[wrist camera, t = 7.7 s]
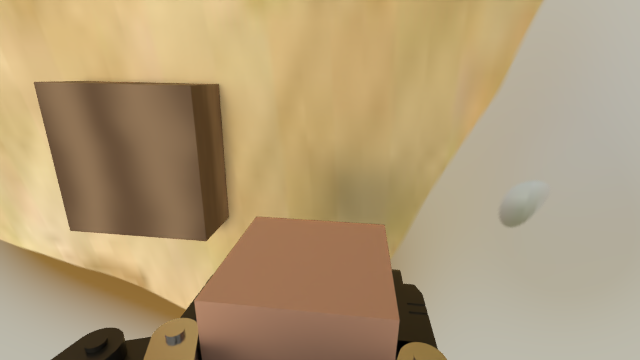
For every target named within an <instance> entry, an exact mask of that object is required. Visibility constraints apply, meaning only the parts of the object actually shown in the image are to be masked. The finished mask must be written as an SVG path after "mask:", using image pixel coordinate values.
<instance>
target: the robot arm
mask: <svg viewBox="0 0 640 360" xmlns="http://www.w3.org/2000/svg"><path fill="white" fill-rule="evenodd" d="M392 275H393V282H394V288H395V294H396V301H397V307H398V313H399V320H400V321H399V330H398V339H397V348H396V357H395V360H447V359H446V358H445V356H444V355H443V354H442V353H441V352H440V351H439V350H438V348H437V345H436V342H435V338H434V334H433V331H432V327H431V324H430V320H429V316H428V314H427V309H426V307H425V302H424V298H423V295H422V293H421V292H420V291H419V290H418V289H417V287H416V286H415V285H411V284H403V281H402V276H401V272H400V270H393V269H392ZM212 276H213V275H212ZM212 276H211V277H212ZM211 277H210V278H211ZM209 280H210V279H209ZM209 280H208V281H209ZM208 281H207V282H208ZM206 284H207V283H206ZM203 288H204V287H203ZM203 288H202V289H203ZM200 292H201V291H200ZM198 295H199V294H198ZM198 295H197V296H198ZM197 296H196V297H197ZM195 299H196V298H195ZM195 299H194V300H195ZM194 300H193V302H192V303H191V304H190V306H189V307H188V308H187V310H186V311H185V312H184V314H183V315H182V316H181V318H178V319H174V320H171V321H168V322H166V323H164V324H163V325H161V326H160V327H159V328H158V329H157V330H156V331H155V332H154V333H153V335H152V337H147V338H141V339H134V340H127V341H125V338H124V334H123V332H122V331H121V330H119V329H117V328H104V329H99V330H96V331H94V332H91V333H89V334H87V335H85V336H84V337H82V338H81V339H79V340H78V341H76V342H75V343H74V344H72V345H71V346H70V347H68V348H67V349H65V350H64V351H63V352H61V353H60V354H58V355H57V356H56V357H54V358H53V359H52V360H202V356H201V349H200V341H199V334H198V326H197V319H196V311H195V304H194Z"/></svg>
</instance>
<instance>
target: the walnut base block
mask: <svg viewBox="0 0 640 360" xmlns="http://www.w3.org/2000/svg"><path fill="white" fill-rule="evenodd" d="M34 85H35V89H36V94H37V98H38V102H39V106H40V110H41V114H42V118H43V122H44V126H45V130H46V134H47V138H48V142H49V146H50V150H51V154H52V158H53V162H54V166H55V170H56V175H57V179H58V183H59V187H60V191H61V195H62V199H63V203H64V207H65V211H66V215H67V219H68V223H69V227H70V231H81V232H94V233H107V234H120V235H133V236H146V237H159V238H172V239H186V240H199V241H207V240H208V239H209V238H210V237H211V236H212V234H213V233H214V232H215V231H216V230H217V229H218V228H219V227H220V226H221V225H222V224H223V223H224V222H225V220H226V219H227V218H228V217H229V214H228V201H227V188H226V175H225V161H224V148H223V135H222V122H221V109H220V95H219V84H185V83H142V82H99V81H66V82H34Z"/></svg>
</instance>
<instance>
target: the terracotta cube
mask: <svg viewBox="0 0 640 360" xmlns="http://www.w3.org/2000/svg"><path fill="white" fill-rule="evenodd" d="M194 304H195V311H196V319H197V326H198V334H199V341H200V349H201V356H202V360H395V357H396V348H397V339H398V330H399V321H400V320H399V313H398V307H397V301H396V294H395V288H394V282H393V275H392V269H391V263H390V256H389V250H388V244H387V237H386V231H385V225H380V224H364V223H349V222H333V221H318V220H302V219H287V218H271V217H256V218H255V219H254V220H253V222H252V223H251V224H250V226H249V227H248V228H247V230H246V231H245V232H244V234H243V235H242V237H241V238H240V239H239V241H238V242H237V243H236V245H235V246H234V247H233V249H232V250H231V251H230V253H229V254H228V255H227V257H226V258H225V259H224V261H223V262H222V264H221V265H220V266H219V268H218V269H217V270H216V272H215V273H214V274H213V276H212V277H211V278H210V280H209V281H208V282H207V284H206V285H205V286H204V288H203V289H202V290H201V292H200V293H199V295H198V296H197V297H196V299H195V300H194Z"/></svg>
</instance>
